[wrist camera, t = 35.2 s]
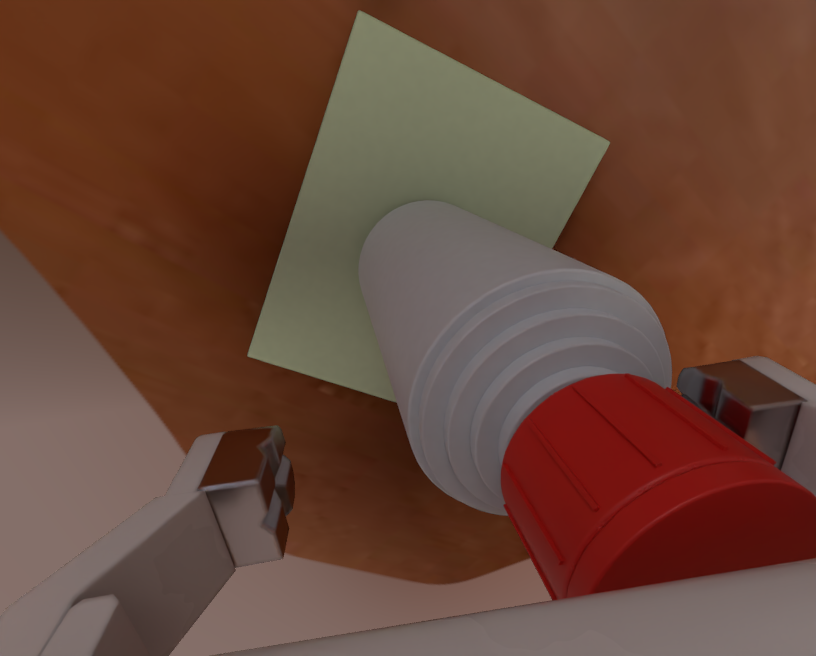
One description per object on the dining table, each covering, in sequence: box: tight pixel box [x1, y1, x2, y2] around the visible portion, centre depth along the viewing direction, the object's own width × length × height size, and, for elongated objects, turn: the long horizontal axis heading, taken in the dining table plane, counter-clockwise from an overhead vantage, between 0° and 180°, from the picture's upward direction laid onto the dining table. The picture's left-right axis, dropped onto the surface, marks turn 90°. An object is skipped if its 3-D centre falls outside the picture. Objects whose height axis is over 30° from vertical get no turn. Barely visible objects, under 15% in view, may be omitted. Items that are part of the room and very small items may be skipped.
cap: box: [501, 373, 816, 600], centre depth 7 cm, size 4×4×3 cm
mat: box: [247, 10, 610, 403], centre depth 22 cm, size 16×12×1 cm
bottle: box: [358, 200, 672, 516], centre depth 14 cm, size 6×6×16 cm
